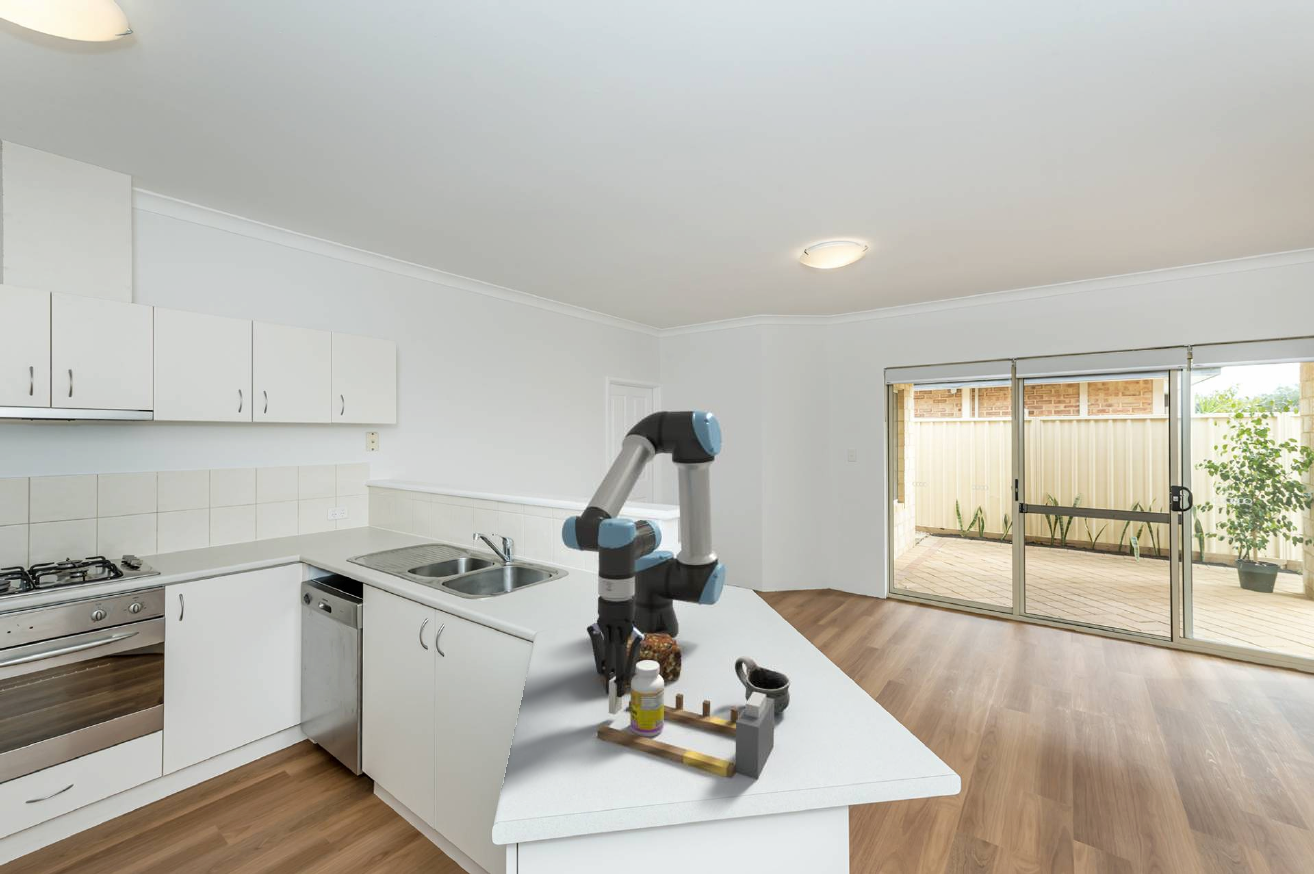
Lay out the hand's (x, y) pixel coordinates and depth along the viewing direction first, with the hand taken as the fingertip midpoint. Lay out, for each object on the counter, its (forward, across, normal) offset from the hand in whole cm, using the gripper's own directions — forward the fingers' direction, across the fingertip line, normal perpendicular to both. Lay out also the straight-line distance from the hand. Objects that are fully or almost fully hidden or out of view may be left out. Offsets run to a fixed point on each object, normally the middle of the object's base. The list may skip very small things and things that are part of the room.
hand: (615, 710), depth 113 cm
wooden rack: (+2, +14, 0) cm, 14 cm away
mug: (+2, +25, +18) cm, 31 cm away
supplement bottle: (+2, +7, 0) cm, 8 cm away
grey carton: (+2, +29, 0) cm, 29 cm away
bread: (+2, -5, +20) cm, 20 cm away
